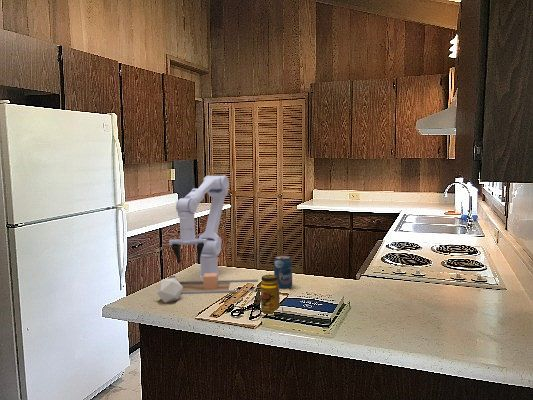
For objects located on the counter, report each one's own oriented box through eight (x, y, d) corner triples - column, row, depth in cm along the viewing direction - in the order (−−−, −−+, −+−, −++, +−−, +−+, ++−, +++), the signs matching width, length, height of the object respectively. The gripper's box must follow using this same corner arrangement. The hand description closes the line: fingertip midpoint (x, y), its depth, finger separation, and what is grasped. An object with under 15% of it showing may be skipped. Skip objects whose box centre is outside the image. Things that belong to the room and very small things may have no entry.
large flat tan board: (170, 285, 178) (170, 274, 178) (230, 283, 178) (230, 272, 178) (163, 294, 166) (163, 282, 166) (227, 292, 166) (227, 281, 166)
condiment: (258, 316, 141) (257, 279, 140) (261, 307, 150) (260, 272, 149) (281, 316, 141) (280, 279, 140) (283, 307, 149) (282, 272, 148)
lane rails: (168, 284, 180) (168, 281, 180) (257, 282, 180) (257, 279, 179) (160, 295, 165) (159, 292, 165) (257, 293, 165) (257, 290, 165)
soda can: (281, 291, 166) (281, 260, 165) (270, 287, 172) (270, 256, 171) (296, 287, 170) (295, 257, 169) (284, 284, 176) (284, 254, 175)
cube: (205, 285, 175) (204, 273, 174) (218, 285, 175) (217, 272, 174) (203, 289, 170) (203, 276, 169) (216, 289, 170) (216, 276, 169)
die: (178, 297, 165) (161, 277, 164) (191, 289, 160) (174, 269, 159) (165, 311, 159) (147, 290, 158) (178, 303, 154) (160, 282, 153)
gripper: (166, 230, 171) (168, 265, 172) (204, 229, 171) (205, 264, 172) (170, 227, 178) (172, 261, 179) (206, 226, 178) (208, 260, 179)
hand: (188, 262), depth 176 cm, fingers open, 7 cm apart
